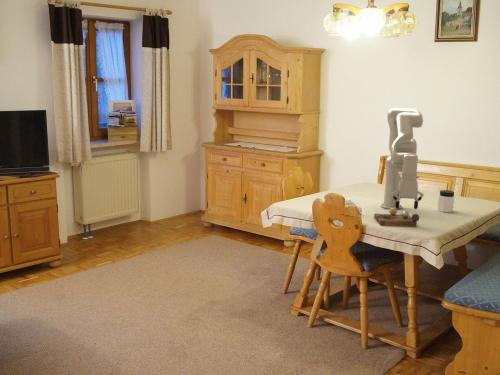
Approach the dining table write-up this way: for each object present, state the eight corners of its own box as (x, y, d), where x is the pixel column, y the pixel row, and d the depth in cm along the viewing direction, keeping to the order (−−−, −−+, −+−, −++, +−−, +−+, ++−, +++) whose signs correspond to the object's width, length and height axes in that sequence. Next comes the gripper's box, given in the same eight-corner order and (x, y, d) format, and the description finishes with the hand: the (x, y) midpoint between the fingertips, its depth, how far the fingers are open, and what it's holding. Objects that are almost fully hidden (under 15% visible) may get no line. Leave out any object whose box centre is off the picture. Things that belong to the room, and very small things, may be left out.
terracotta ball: (388, 213, 314) (389, 206, 313) (395, 214, 314) (396, 207, 313) (390, 215, 310) (390, 208, 309) (397, 215, 310) (398, 208, 309)
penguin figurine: (343, 196, 325) (364, 200, 323) (340, 210, 327) (361, 214, 324) (341, 198, 319) (363, 202, 317) (339, 213, 321) (360, 217, 318)
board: (374, 218, 314) (374, 213, 313) (408, 219, 314) (408, 214, 314) (380, 225, 298) (381, 220, 298) (416, 226, 298) (416, 222, 298)
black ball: (410, 220, 301) (410, 212, 301) (417, 220, 301) (418, 213, 301) (412, 222, 297) (413, 214, 297) (419, 222, 297) (420, 214, 297)
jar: (449, 213, 332) (451, 193, 330) (436, 211, 337) (438, 191, 334) (454, 210, 339) (456, 191, 337) (440, 208, 344) (442, 189, 341)
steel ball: (400, 217, 308) (401, 209, 307) (407, 217, 308) (408, 210, 307) (402, 218, 304) (403, 211, 303) (409, 219, 304) (410, 211, 303)
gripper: (422, 176, 305) (420, 207, 308) (391, 175, 305) (388, 206, 308) (427, 178, 298) (424, 210, 300) (394, 177, 297) (392, 209, 300)
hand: (406, 208), depth 304 cm, fingers open, 9 cm apart
